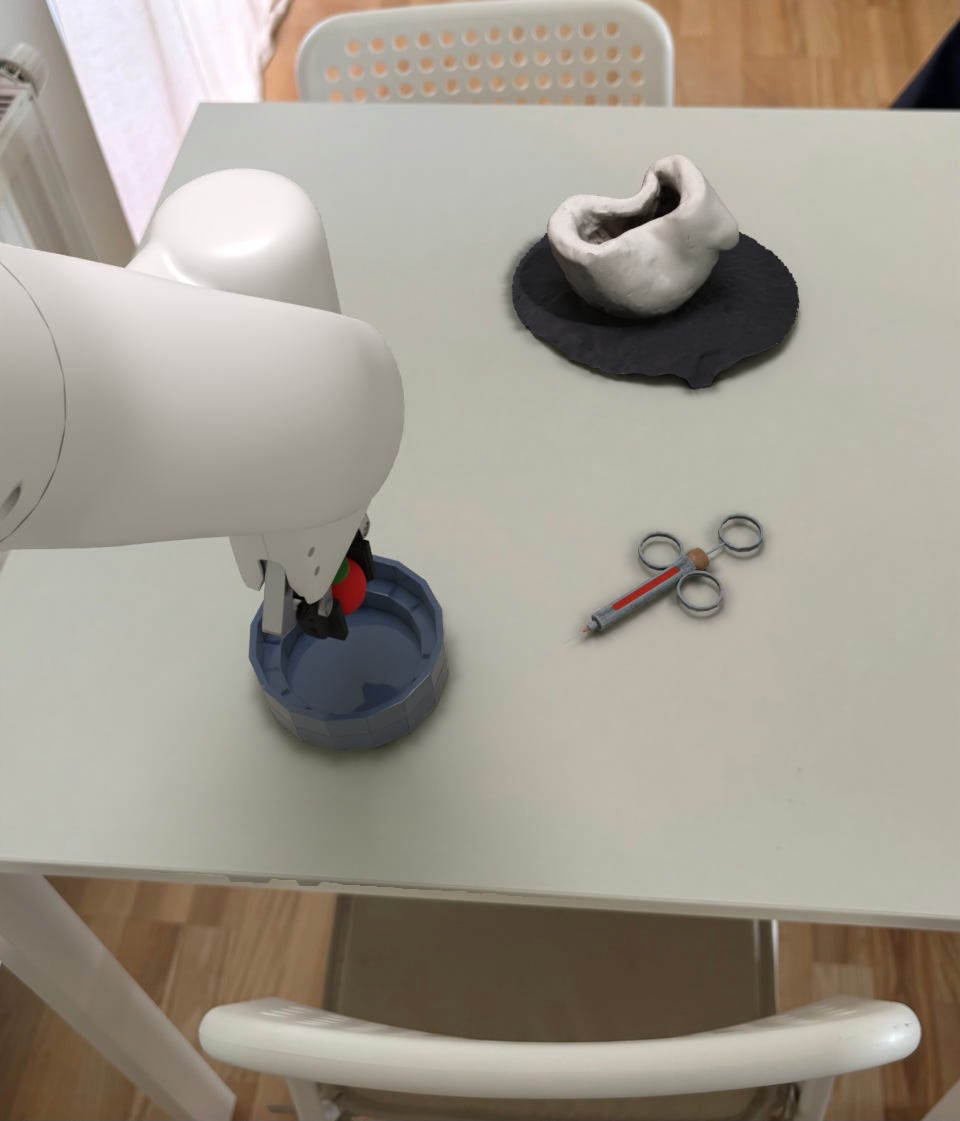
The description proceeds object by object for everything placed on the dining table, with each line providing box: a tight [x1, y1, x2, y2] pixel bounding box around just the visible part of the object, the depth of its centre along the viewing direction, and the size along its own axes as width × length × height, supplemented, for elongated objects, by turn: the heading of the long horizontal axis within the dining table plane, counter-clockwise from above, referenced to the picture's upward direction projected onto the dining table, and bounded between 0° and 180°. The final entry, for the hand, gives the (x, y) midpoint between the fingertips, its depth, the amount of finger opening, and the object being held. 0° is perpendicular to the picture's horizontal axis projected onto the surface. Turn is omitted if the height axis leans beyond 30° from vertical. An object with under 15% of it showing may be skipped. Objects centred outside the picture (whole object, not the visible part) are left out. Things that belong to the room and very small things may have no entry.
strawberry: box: [331, 556, 367, 616], centre depth 69 cm, size 4×4×4 cm
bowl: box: [248, 553, 449, 753], centre depth 76 cm, size 13×13×5 cm
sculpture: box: [510, 153, 801, 390], centre depth 94 cm, size 23×25×13 cm
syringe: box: [563, 513, 764, 644], centre depth 80 cm, size 8×18×2 cm, turn 124°
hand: (338, 600), depth 71 cm, fingers closed on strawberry, 3 cm apart
